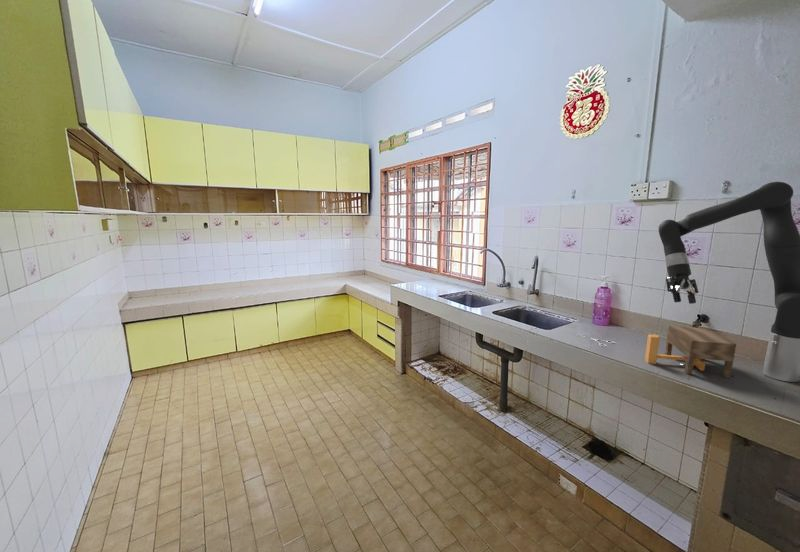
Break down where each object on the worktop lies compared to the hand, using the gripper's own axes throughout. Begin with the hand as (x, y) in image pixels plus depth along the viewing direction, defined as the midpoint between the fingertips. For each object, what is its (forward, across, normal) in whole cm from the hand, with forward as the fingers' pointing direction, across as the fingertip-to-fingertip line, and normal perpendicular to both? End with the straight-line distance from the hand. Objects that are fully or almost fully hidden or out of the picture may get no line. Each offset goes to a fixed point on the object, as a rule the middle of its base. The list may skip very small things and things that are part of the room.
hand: (685, 302), depth 136 cm
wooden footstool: (+25, +8, +6) cm, 27 cm away
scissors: (+14, -8, +40) cm, 43 cm away
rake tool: (+25, +1, +10) cm, 27 cm away
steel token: (+25, +5, +8) cm, 27 cm away
